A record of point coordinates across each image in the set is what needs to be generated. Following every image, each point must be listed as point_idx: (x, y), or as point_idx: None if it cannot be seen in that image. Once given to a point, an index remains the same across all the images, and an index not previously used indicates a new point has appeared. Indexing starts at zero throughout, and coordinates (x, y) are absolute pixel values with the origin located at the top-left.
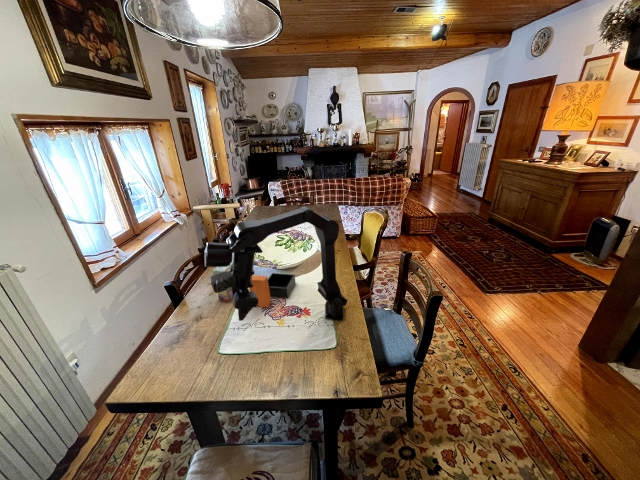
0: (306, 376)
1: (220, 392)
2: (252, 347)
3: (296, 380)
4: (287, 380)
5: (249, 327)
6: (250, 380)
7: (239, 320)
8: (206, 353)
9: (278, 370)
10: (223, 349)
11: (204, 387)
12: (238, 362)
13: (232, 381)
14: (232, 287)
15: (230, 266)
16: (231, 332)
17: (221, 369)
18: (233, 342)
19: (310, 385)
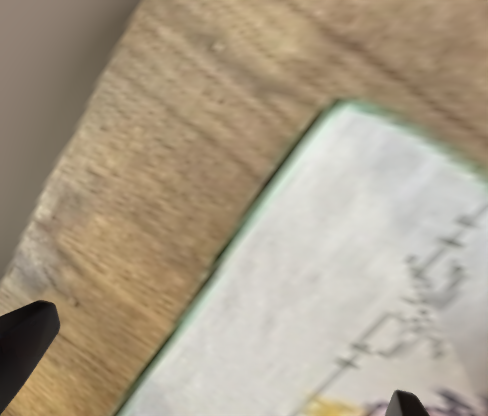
0: None
1: (131, 63)
2: (267, 246)
3: (48, 300)
4: (61, 278)
5: (411, 290)
6: (121, 177)
7: (34, 303)
8: (380, 41)
9: (107, 275)
10: (346, 127)
11: (186, 5)
12: (225, 165)
13: (152, 116)
14: None
15: None
16: (445, 199)
17: (232, 90)
18: (360, 184)
19: None
